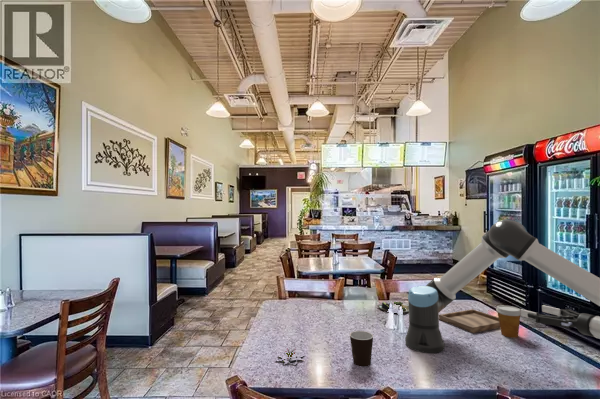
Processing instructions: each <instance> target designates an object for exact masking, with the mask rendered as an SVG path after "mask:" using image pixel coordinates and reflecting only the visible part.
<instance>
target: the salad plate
mask: <svg viewBox="0 0 600 399" xmlns="http://www.w3.org/2000/svg"><path fill="white" fill-rule="evenodd" d="M393 302H394V304H396V305H400V306H402V309H403V314H402V315H405V314H409V305H405V304H404V302H401V301H400V300H399V301H397V302H396V301H393ZM388 303H389V302H384V301H382V302H381V304H378V305H376V307H378V308H379V310H380V309H381V310H380V311H382V310H383V311H382V312H384V311H386V312H385V313H388V312H387V311H388V309H389V304H388ZM405 308H406V309H405Z"/></svg>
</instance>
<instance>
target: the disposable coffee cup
mask: <svg viewBox="0 0 600 399" xmlns="http://www.w3.org/2000/svg"><path fill="white" fill-rule="evenodd" d="M496 307H497V308H496V309H495V310H496V313H497V317H498V318H499V323H500V328H499V329H500V333H501V335H502V336H504V337H507V338H512V339H517V338H518V337H519V333H520V322H521V321H520V320H521V308H518V307H517V306H511V305H497V306H496Z"/></svg>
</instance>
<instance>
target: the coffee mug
mask: <svg viewBox="0 0 600 399" xmlns="http://www.w3.org/2000/svg"><path fill="white" fill-rule="evenodd" d="M349 338H350V339H349V340H350V348H351V354H352V363H353V362H354V363H353V364H354V365H355V366H357V367H360V366H361V367H360V368H364V367H369V366H370V365H372V364H371V363H372V356H373V355H372V353H373V341H374V334H372V332H370V331H365V330H354V331H352V332H350V333H349Z"/></svg>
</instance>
